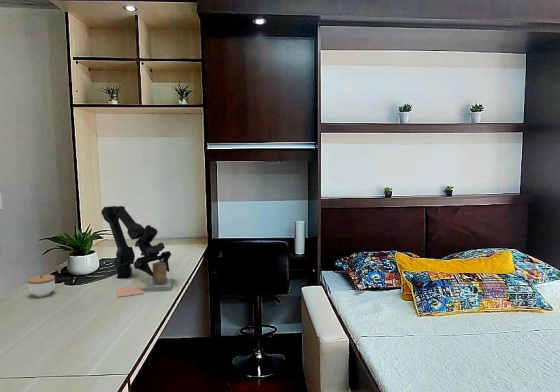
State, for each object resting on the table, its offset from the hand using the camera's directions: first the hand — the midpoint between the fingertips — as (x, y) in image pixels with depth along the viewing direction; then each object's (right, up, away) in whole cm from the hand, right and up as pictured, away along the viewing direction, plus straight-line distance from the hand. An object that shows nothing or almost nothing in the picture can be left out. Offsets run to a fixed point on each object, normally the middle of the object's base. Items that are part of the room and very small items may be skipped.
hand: (161, 273), depth 192 cm
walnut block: (-1, -5, +1) cm, 5 cm away
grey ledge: (-1, -7, +1) cm, 7 cm away
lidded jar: (-52, -8, -9) cm, 53 cm away
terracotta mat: (-13, -8, -6) cm, 16 cm away
